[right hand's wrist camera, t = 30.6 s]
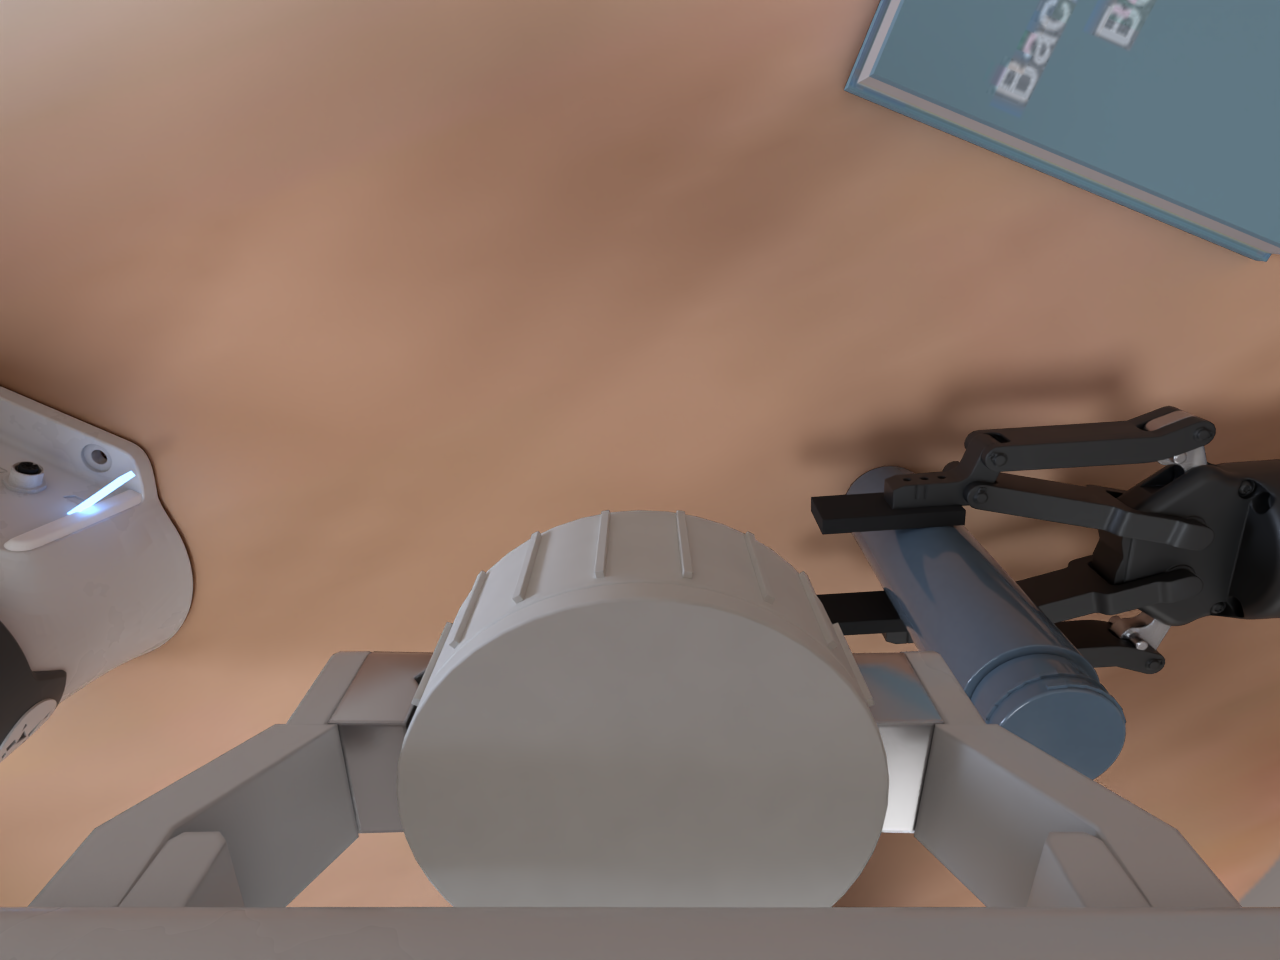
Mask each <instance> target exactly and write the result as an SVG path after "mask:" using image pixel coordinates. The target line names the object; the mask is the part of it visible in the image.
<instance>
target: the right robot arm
mask: <svg viewBox="0 0 1280 960" xmlns="http://www.w3.org/2000/svg"><path fill="white" fill-rule="evenodd" d="M101 451H102V452H103V453H104V454H105V455H106V457H107V459H105V458H104V457H103V456H102V454H101ZM192 594H193V576H192V569H191V564H190V560H189V557H188V554H187V551H186V548H185V546H184V543H183V541H182V539H181V537H180V535H179V533H178V531H177V530H176V528H175V526H174V525H173V523H172V522H171V520H170V518H169V517H168V515H167V514H166V512H165V510H164V509H163V507H162V505H161V503H160V501H159V498H158V495H157V489H156V483H155V478H154V473H153V469H152V466H151V463H150V460H149V458H148V456H147V455H146V453H145V452H144V451H143V450H142V449H141V448H140V447H139V446H137V445H136V444H134V443H132V442H130V441H128V440H125V439H123V438H121V437H118V436H116V435H114V434H111V433H109V432H107V431H104V430H102V429H100V428H97V427H95V426H92V425H90V424H88V423H85V422H83V421H81V420H78V419H76V418H74V417H71V416H69V415H67V414H64V413H62V412H60V411H57V410H55V409H53V408H50V407H48V406H46V405H43V404H41V403H39V402H36V401H34V400H32V399H29V398H27V397H25V396H22V395H20V394H18V393H15V392H13V391H11V390H8V389H6V388H3V387H1V386H0V762H1V761H3V760H4V759H5V758H6V757H7V756H8V755H10V754H11V753H12V752H13V751H14V750H15V749H17V748H18V747H19V746H20V745H21V744H22V743H23V742H24V741H26V740H27V739H28V738H29V737H30V736H31V735H32V734H33V733H34V732H36V731H37V730H38V729H39V728H40V727H41V726H42V725H43V724H44V723H45V722H46V721H47V719H48V718H49V717H50V716H51V715H52V713H53V712H54V710H55V709H56V707H57V705H58V704H59V703H61V702H62V701H64V700H65V699H67V698H68V697H69V696H71V695H72V694H74V693H75V692H77V691H79V690H80V689H82V688H83V687H85V686H86V685H88V684H89V683H91V682H92V681H94V680H95V679H97V678H99V677H100V676H102V675H104V674H105V673H107V672H109V671H110V670H112V669H114V668H116V667H118V666H120V665H122V664H124V663H126V662H128V661H130V660H132V659H134V658H136V657H139V656H141V655H144V654H146V653H148V652H151V651H153V650H155V649H157V648H158V647H160V646H162V645H163V644H165V643H166V642H167V641H168V640H169V639H171V638H172V637H173V636H174V635H175V634H176V632H177V631H178V630H179V629H180V627H181V626H182V624H183V622H184V621H185V619H186V617H187V614H188V612H189V609H190V606H191V601H192ZM432 655H433V653H427V652H380V651H374V652H370V651H340V652H337V653H335V654H333V655H332V656H331V658H330V659H329V661H328V662H327V664H326V665H325V667H324V668H323V669H322V671H321V672H320V674H319V675H318V677H317V678H316V680H315V681H314V683H313V684H312V686H311V687H310V689H309V690H308V692H307V693H306V695H305V696H304V698H303V699H302V701H301V702H300V704H299V705H298V707H297V708H296V710H295V711H294V713H293V714H292V716H291V717H290V719H289V720H288V722H287V723H286V724H275V725H273V726H271V727H270V728H268V729H266V730H264V731H263V732H261V733H259V734H257V735H256V736H254V737H252V738H250V739H249V740H247V741H245V742H244V743H242V744H240V745H238V746H237V747H235V748H233V749H231V750H230V751H228V752H226V753H225V754H223V755H221V756H219V757H218V758H216V759H214V760H212V761H211V762H209V763H207V764H206V765H204V766H202V767H200V768H199V769H197V770H195V771H193V772H192V773H190V774H188V775H186V776H185V777H183V778H181V779H180V780H178V781H176V782H174V783H173V784H171V785H169V786H167V787H166V788H164V789H162V790H161V791H159V792H157V793H155V794H154V795H152V796H150V797H148V798H147V799H145V800H143V801H141V802H140V803H138V804H136V805H135V806H133V807H131V808H129V809H128V810H126V811H124V812H122V813H121V814H119V815H117V816H116V817H114V818H112V819H110V820H109V821H107V822H105V823H103V824H102V825H100V826H98V827H96V828H95V829H94V830H93V831H92V832H91V833H90V835H89V836H88V837H87V838H86V839H85V840H84V842H83V843H82V844H81V845H80V846H79V847H78V849H77V850H76V851H75V852H74V853H73V854H72V856H71V857H70V858H69V859H68V860H67V861H66V863H65V864H64V865H63V866H62V867H61V868H60V869H59V871H58V872H57V873H56V874H55V875H54V876H53V878H52V879H51V880H50V881H49V882H48V883H47V885H46V886H45V887H44V888H43V889H42V890H41V892H40V893H39V894H38V895H37V896H36V897H35V899H34V900H33V901H32V902H31V903H30V904H29V906H28V907H0V960H1280V907H1242V906H1241V905H1240V904H1239V903H1238V901H1237V900H1236V899H1235V898H1234V897H1233V895H1232V894H1231V893H1230V892H1229V891H1228V890H1227V888H1226V887H1225V886H1224V885H1223V884H1222V882H1221V881H1220V880H1219V879H1218V878H1217V876H1216V875H1215V874H1214V873H1213V872H1212V870H1211V869H1210V868H1209V867H1208V866H1207V864H1206V863H1205V862H1204V861H1203V860H1202V859H1201V857H1200V856H1199V855H1198V854H1197V853H1196V851H1195V850H1194V849H1193V848H1192V847H1191V845H1190V844H1189V843H1188V842H1187V841H1186V839H1185V838H1184V837H1183V836H1182V835H1181V833H1180V832H1179V831H1178V830H1177V829H1175V828H1174V827H1172V826H1170V825H1168V824H1167V823H1165V822H1163V821H1162V820H1160V819H1158V818H1156V817H1155V816H1153V815H1151V814H1150V813H1148V812H1146V811H1145V810H1143V809H1141V808H1139V807H1138V806H1136V805H1134V804H1133V803H1131V802H1129V801H1127V800H1126V799H1124V798H1122V797H1121V796H1119V795H1117V794H1115V793H1114V792H1112V791H1110V790H1109V789H1107V788H1105V787H1104V786H1102V785H1100V784H1098V783H1097V782H1095V781H1093V780H1092V779H1090V778H1088V777H1086V776H1085V775H1083V774H1081V773H1080V772H1078V771H1076V770H1074V769H1073V768H1071V767H1069V766H1068V765H1066V764H1064V763H1063V762H1061V761H1059V760H1057V759H1056V758H1054V757H1052V756H1051V755H1049V754H1047V753H1045V752H1044V751H1042V750H1040V749H1039V748H1037V747H1035V746H1033V745H1032V744H1030V743H1028V742H1027V741H1025V740H1023V739H1021V738H1020V737H1018V736H1016V735H1015V734H1013V733H1011V732H1010V731H1008V730H1006V729H1004V728H1003V727H1001V726H999V725H998V724H986V723H985V721H984V720H983V718H982V717H981V715H980V714H979V712H978V711H977V709H976V708H975V706H974V705H973V703H972V702H971V700H970V699H969V697H968V696H967V694H966V693H965V691H964V690H963V688H962V687H961V685H960V684H959V682H958V681H957V679H956V678H955V676H954V675H953V673H952V671H951V670H950V668H949V667H948V665H947V664H946V662H945V661H944V659H943V658H942V656H941V655H940V654H939V653H937V652H935V651H912V652H900V653H852V655H853V657H854V659H855V661H856V663H857V665H858V668H859V670H860V672H861V674H862V676H863V679H864V681H865V683H866V685H867V687H868V689H869V692H870V694H871V696H872V698H873V701H874V703H875V705H873V706H870V707H869V708H870V711H871V713H872V715H873V717H874V720H875V722H876V724H877V727H878V729H879V732H880V735H881V738H882V742H883V745H884V748H885V752H886V756H887V764H888V773H889V794H888V807H887V811H886V816H885V820H884V825H883V829H882V832H889V833H914V837H915V838H916V839H917V840H918V841H919V842H921V843H922V844H923V845H924V846H925V847H926V848H927V849H928V850H929V851H930V852H931V853H932V854H933V855H934V856H935V857H936V858H937V859H938V860H939V861H940V862H941V863H942V864H943V865H944V866H945V867H946V868H947V869H948V870H949V871H950V872H951V873H952V874H953V875H955V876H956V877H957V878H958V879H959V880H960V881H961V882H962V883H963V884H964V885H965V886H966V887H967V888H968V889H969V890H970V891H971V892H972V893H973V894H974V895H975V896H976V897H977V898H978V899H979V900H980V901H981V902H982V903H983V904H984V905H985V906H986V907H286V906H287V905H288V904H289V903H290V902H291V901H292V900H293V899H294V898H295V897H296V896H297V895H298V894H299V893H301V892H302V891H303V890H304V889H305V888H306V887H307V886H308V885H309V884H310V883H311V882H312V881H313V880H314V879H315V878H316V877H317V876H318V875H319V874H320V873H321V872H322V871H323V870H325V869H326V868H327V867H328V866H329V865H330V864H331V863H332V862H333V861H334V860H335V859H336V858H337V857H338V856H339V855H340V854H341V853H342V852H343V851H344V850H345V849H346V848H347V847H349V846H350V845H351V844H352V843H353V842H354V841H355V840H356V839H357V838H358V837H359V835H358V833H383V832H404V830H403V826H402V822H401V819H400V815H399V808H398V798H397V788H396V785H397V771H398V761H399V757H400V753H401V749H402V745H403V741H404V737H405V734H406V732H407V730H408V727H409V725H410V723H411V720H412V718H413V716H414V713H415V711H416V709H417V706H416V705H413V704H411V702H412V700H413V697H414V695H415V693H416V691H417V688H418V686H419V684H420V682H421V679H422V677H423V675H424V673H425V670H426V668H427V666H428V664H429V661H430V659H431V657H432Z"/></svg>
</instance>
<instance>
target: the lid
mask: <svg viewBox="0 0 1280 960" xmlns="http://www.w3.org/2000/svg"><path fill="white" fill-rule="evenodd" d="M411 704H413V705H416V706H417V709H416V711H415V713H414V716H413V718H412V720H411V723H410V725H409V727H408V730H407V732H406V734H405V737H404V741H403V745H402V749H401V753H400V757H399V761H398V771H397V785H396V788H397V798H398V808H399V815H400V819H401V822H402V826H403V830H404V833H405V837H406V839H407V841H408V844H409V846H410V848H411V850H412V852H413V855H414V857H415V859H416V861H417V862H418V864H419V865H420V867H421V869H422V870H423V872H424V873H425V875H426V876H427V878H428V879H429V881H430V882H431V883H432V884H433V885H434V887H435V888H436V889H437V890H438V891H439V892H440V894H441V895H442V896H443V897H444V898H445V899H446V900H447V901H448V902H449V903H450V904H451V905H452V906H453V907H832V906H833V905H834V904H835V903H836V902H837V901H838V900H839V899H840V898H841V897H842V896H843V895H844V894H845V893H846V892H847V890H848V889H849V888H850V887H851V885H852V884H853V883H854V882H855V880H856V879H857V878H858V877H859V875H860V874H861V872H862V871H863V869H864V867H865V866H866V864H867V862H868V861H869V859H870V857H871V856H872V854H873V852H874V849H875V847H876V844H877V842H878V839H879V837H880V835H881V832H882V829H883V825H884V820H885V816H886V811H887V807H888V794H889V773H888V764H887V756H886V752H885V748H884V745H883V742H882V738H881V735H880V732H879V729H878V727H877V724H876V722H875V720H874V717H873V715H872V713H871V711H870V708H869V707H870V706H873V705H875V703H874V701H873V698H872V696H871V694H870V692H869V689H868V687H867V685H866V683H865V681H864V679H863V676H862V674H861V672H860V670H859V668H858V665H857V663H856V661H855V659H854V657H853V655H852V652H851V650H850V648H849V646H848V644H847V641H846V639H845V637H844V635H843V633H842V631H841V628H840V626H839V624H838V623H835V624H832V623H831V621H830V619H829V617H828V615H827V613H826V611H825V608H824V606H823V604H822V603H821V601H820V600H819V598H818V597H817V595H816V594H815V591H814V589H813V587H812V585H811V582H810V580H809V578H808V576H807V574H806V573H805V572H804V571H802V572H801V573H800V574H799V573H798V572H797V571H796V570H795V569H794V568H793V567H792V566H791V565H790V564H789V563H788V562H787V561H785V560H784V559H783V558H782V557H780V556H779V555H778V554H777V553H775V552H774V551H773V550H772V549H770V548H768V547H767V546H765V545H763V544H762V543H760V542H758V541H757V540H756V539H755V536H754V534H752V533H750V532H747V533H746V534H744V533H742V532H739V531H737V530H735V529H733V528H730V527H728V526H726V525H723V524H720V523H717V522H713V521H710V520H707V519H703V518H700V517H696V516H691V515H685V512H684V511H679V510H677V512H676V513H673V512H667V511H643V510H636V511H623V512H610V511H609V510H607V511H602V512H601V514H600V515H595V516H590V517H585V518H581V519H578V520H575V521H572V522H569V523H566V524H563V525H560V526H557V527H554V528H552V529H550V530H548V531H546V532H543V533H541V534H540V532H539V531H537V532H535V533H533V534H532V536H531V539H529V540H528V541H526V542H525V543H523V544H522V545H520V546H518V547H517V548H515V549H514V550H512V551H511V552H509V553H508V554H507V555H505V556H504V557H503V558H502V559H501V560H500V561H498V562H497V563H496V564H495V565H494V566H493V567H492V568H490V569H489V570H488V571H487V572H486V573H485V572H484V571H481V572H480V573H479V574H478V576H477V578H476V581H475V583H474V585H473V588H472V590H471V592H470V593H469V595H468V596H467V598H466V599H465V601H464V603H463V604H462V606H461V607H460V609H459V611H458V614H457V616H456V618H455V620H454V623H453V624H452V623H449V622H447V623H446V625H445V628H444V630H443V632H442V634H441V637H440V639H439V641H438V643H437V646H436V648H435V650H434V652H433V655H432V657H431V659H430V661H429V664H428V666H427V668H426V670H425V673H424V675H423V677H422V679H421V682H420V684H419V686H418V688H417V691H416V693H415V695H414V697H413V700H412V702H411Z"/></svg>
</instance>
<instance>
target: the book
mask: <svg viewBox="0 0 1280 960" xmlns="http://www.w3.org/2000/svg"><path fill="white" fill-rule="evenodd" d="M844 90H845V91H847V92H850V93H852V94H854V95H857V96H859V97H862V98H864V99H867V100H869V101H871V102H874V103H876V104H879V105H881V106H884V107H886V108H888V109H891V110H893V111H896V112H898V113H900V114H903V115H905V116H908V117H910V118H913V119H915V120H917V121H920V122H922V123H925V124H927V125H929V126H932V127H934V128H937V129H939V130H942V131H944V132H946V133H949V134H951V135H954V136H956V137H958V138H961V139H963V140H966V141H968V142H971V143H973V144H975V145H978V146H980V147H983V148H985V149H987V150H990V151H992V152H995V153H997V154H1000V155H1002V156H1004V157H1007V158H1009V159H1012V160H1014V161H1017V162H1019V163H1021V164H1024V165H1026V166H1029V167H1031V168H1033V169H1036V170H1038V171H1041V172H1043V173H1046V174H1048V175H1050V176H1053V177H1055V178H1058V179H1060V180H1062V181H1065V182H1067V183H1070V184H1072V185H1075V186H1077V187H1079V188H1082V189H1084V190H1087V191H1089V192H1091V193H1094V194H1096V195H1099V196H1101V197H1104V198H1106V199H1108V200H1111V201H1113V202H1116V203H1118V204H1120V205H1123V206H1125V207H1128V208H1130V209H1133V210H1135V211H1137V212H1140V213H1142V214H1145V215H1147V216H1150V217H1152V218H1154V219H1157V220H1159V221H1162V222H1164V223H1166V224H1169V225H1171V226H1174V227H1176V228H1179V229H1181V230H1183V231H1186V232H1188V233H1191V234H1193V235H1195V236H1198V237H1200V238H1203V239H1205V240H1208V241H1210V242H1212V243H1215V244H1217V245H1220V246H1222V247H1224V248H1227V249H1229V250H1232V251H1234V252H1237V253H1239V254H1241V255H1244V256H1246V257H1249V258H1251V259H1253V260H1257V261H1266V262H1267V260H1268V259H1269V257H1270V256H1271V254H1280V0H881V1H880V3H879V6H878V8H877V11H876V13H875V16H874V18H873V21H872V23H871V25H870V28H869V30H868V33H867V35H866V38H865V40H864V42H863V45H862V47H861V50H860V52H859V55H858V57H857V60H856V62H855V64H854V67H853V69H852V72H851V74H850V77H849V79H848V81H847V84H846V86H845V89H844Z"/></svg>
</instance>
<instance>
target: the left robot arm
mask: <svg viewBox="0 0 1280 960" xmlns="http://www.w3.org/2000/svg"><path fill="white" fill-rule="evenodd" d="M1215 433H1216V428H1215V426H1214V424H1212V423H1211V422H1209V421H1207V420H1204V419H1202V418H1200V417H1197V416H1194V415H1192V414H1189V413H1187V412H1185V411H1183V410H1180V409H1178V408H1175V407H1172V406H1166V407H1162V408H1160V409H1157V410H1154V411H1152V412H1149V413H1146V414H1144V415H1141V416H1138V417H1136V418H1133V419H1131V420H1128V421H1118V422H1102V423H1086V424H1070V425H1054V426H1038V427H1022V428H1006V429H990V430H977V431H973V432H972V433H970V434H969V435H968V436H967V437H966V439H965V442H964V445H965V448H966V451H965V453H964V455H963V458H962V460H961V461H960V462H958V461H953V462H950V463H948V464H947V465H946V466H945V467H944V469H943V471H942V472H930V473H917V474H901V475H894V476H892V477H889V478H887V479H885V482H884V492H879V493H865V494H850V495H835V496H820V497H811V512H812V514H813V516H814V518H815V520H816V522H817V524H818V526H819V528H820V530H821V532H822V534H837V533H852V532H867V531H883V530H898V529H914V528H929V527H944V526H960V525H965V514H966V510H965V509H964V508H963V507H962V506H964V505H970V506H971V507H972V508H975V509H980V510H986V511H992V512H998V513H1004V514H1010V515H1016V516H1022V517H1028V518H1034V519H1040V520H1046V521H1053V522H1059V523H1065V524H1071V525H1077V526H1083V527H1089V528H1095V529H1098V531H1099V537H1100V539H1099V542H1098V544H1097V546H1096V548H1095V550H1094V552H1093V555H1090V556H1086V557H1083V558H1079V559H1075V560H1073V561H1071V562H1069V565H1068V567H1067V568H1064V569H1061V570H1057V571H1053V572H1050V573H1046V574H1042V575H1039V576H1035V577H1031V578H1028V579H1024V580H1020V581H1017V582H1016V583H1017V584H1018V585H1019V586H1020V588H1021V589H1022V590H1023V591H1024V592H1025V593H1026V594H1027V595H1028V596H1029V597H1030V598H1031V600H1032V601H1033V602H1034V603H1035V604H1036V605H1037V606H1038V607H1039V608H1040V609H1041V610H1042V612H1043V613H1044V614H1045V615H1046V616H1047V617H1048V618H1049V619H1050V620H1051V621H1052V622H1053V623H1054V625H1055V626H1056V627H1057V628H1058V629H1059V630H1060V631H1061V632H1062V633H1063V634H1064V635H1065V637H1066V638H1067V639H1068V640H1069V641H1070V642H1071V643H1072V644H1073V645H1074V646H1075V647H1076V649H1077V650H1078V651H1079V652H1080V653H1081V654H1082V655H1083V656H1084V657H1085V658H1086V659H1087V661H1088V662H1089V663H1090V664H1091V665H1092V666H1093V668H1096V667H1112V666H1117V667H1121V668H1126V669H1130V670H1134V671H1138V672H1142V673H1146V674H1153V673H1157V672H1158V671H1160V670H1161V669H1162V668H1163V667H1164V665H1165V659H1164V657H1163V656H1162V655H1161V654H1160V653H1159V652H1158V651H1157V650H1156V649H1157V648H1158V646H1159V644H1160V643H1161V641H1162V640H1163V638H1164V636H1165V635H1166V633H1167V632H1168V630H1169V628H1170V627H1171V626H1181V625H1185V624H1188V623H1190V622H1192V621H1194V620H1196V619H1199V618H1201V617H1205V616H1210V615H1214V616H1224V617H1231V618H1239V619H1268V618H1280V459H1276V460H1261V461H1247V462H1232V463H1221V464H1217V465H1214V464H1211V463H1208V462H1207V460H1206V454H1205V449H1204V445H1206V444H1208V443H1209V442H1210V441H1211V440H1212V439H1213V438H1214V436H1215ZM1149 462H1158V463H1160V464H1162V465H1167V466H1165V467H1164V468H1162V469H1161V470H1159V471H1158V472H1156V473H1154V474H1153V475H1151V476H1150V477H1148V478H1147V479H1145V480H1144V481H1142V482H1140V483H1139V484H1137V485H1136V486H1134V487H1133V488H1131V489H1130V490H1128V491H1125V490H1119V489H1113V488H1107V487H1101V486H1095V485H1087V486H1086V487H1084V486H1078V485H1072V484H1066V483H1060V482H1054V481H1048V480H1042V479H1036V478H1030V477H1024V476H1018V475H1012V474H1006V473H1000V472H1004V471H1020V470H1037V469H1053V468H1070V467H1087V466H1103V465H1120V464H1137V463H1149ZM817 597H818V598H819V600H820V601H821V603H822V604H823V606H824V608H825V611H826V613H827V615H828V617H829V619H830V621H831V623H832V624H835V623H838V624H839V626H840V628H841V631H842V633H843V635H858V634H875V633H882V634H883V636H884V638H885V640H886V641H887V642H891V643H894V644H904V643H914V642H913V640H912V638H911V637H910V635H909V633H908V631H907V629H906V628H905V626H904V624H903V622H902V621H901V619H900V617H899V615H898V614H897V612H896V610H895V608H894V607H893V605H892V603H891V601H890V600H889V598H888V596H887V594H886V593H885V591H873V592H857V593H840V594H824V595H817ZM1134 609H1139V610H1141V611H1142V612H1141V613H1140V614H1139V615H1138V616H1135V617H1133V618H1120V617H1119V616H1112V617H1111V618H1110V619H1109V622H1105V621H1098V620H1078V621H1065V620H1069V619H1072V618H1076V617H1080V616H1084V615H1088V614H1092V613H1102V614H1105V615H1115V614H1119V613H1123V612H1127V611H1130V610H1134ZM1061 621H1063V622H1061Z"/></svg>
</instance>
